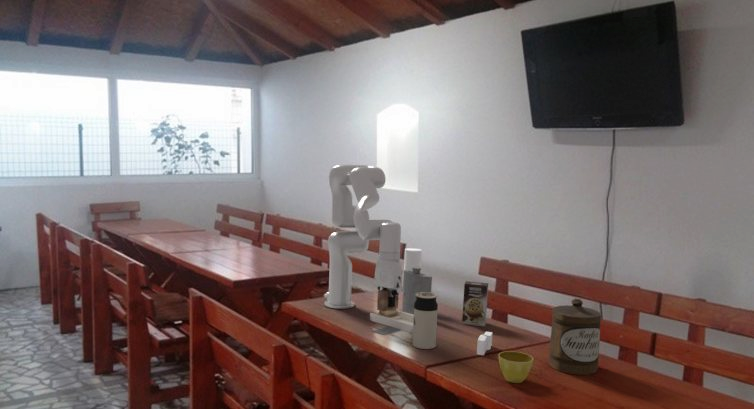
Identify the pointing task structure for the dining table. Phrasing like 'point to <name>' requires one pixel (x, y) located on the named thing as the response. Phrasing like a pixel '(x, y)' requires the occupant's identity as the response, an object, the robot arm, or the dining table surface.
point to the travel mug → (425, 320)
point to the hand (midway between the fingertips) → (387, 305)
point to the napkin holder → (484, 343)
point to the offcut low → (389, 315)
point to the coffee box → (475, 303)
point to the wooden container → (575, 339)
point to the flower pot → (515, 365)
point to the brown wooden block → (385, 300)
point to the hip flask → (414, 287)
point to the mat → (386, 330)
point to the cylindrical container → (412, 258)
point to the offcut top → (387, 312)
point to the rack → (396, 320)
